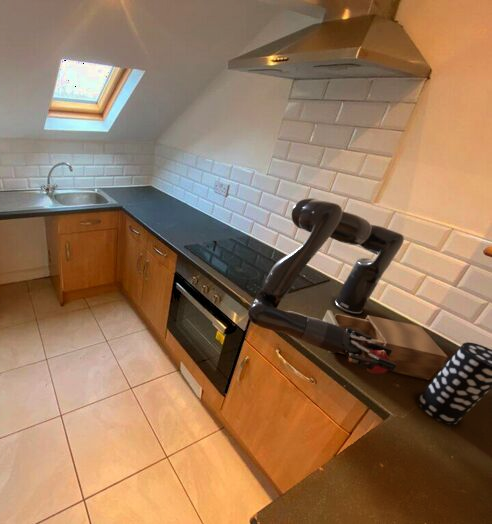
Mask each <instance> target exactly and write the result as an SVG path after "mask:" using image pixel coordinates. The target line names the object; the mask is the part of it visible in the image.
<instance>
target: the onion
mask: <svg viewBox="0 0 492 524" xmlns="http://www.w3.org/2000/svg"><path fill="white" fill-rule="evenodd" d="M370 353H372V354H373V355H375V356H377V357H378V358H379V357H380V358H383V359H385V360H388V361H390V359H389V357H388V355H387V354H386V352H385V351H384V350H381V351H380V350H371V351H370ZM366 358H370V359H372V358H371V357H369V356H367V357H366ZM365 364H368V363H365ZM366 370H367V372H368V373H371V374H379V375H380V374H385V373H386V372H389V371H388V370H387V369H384V368H381V367H379V366H375V367H374V368H373V370H371V369H367V368H366Z"/></svg>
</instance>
